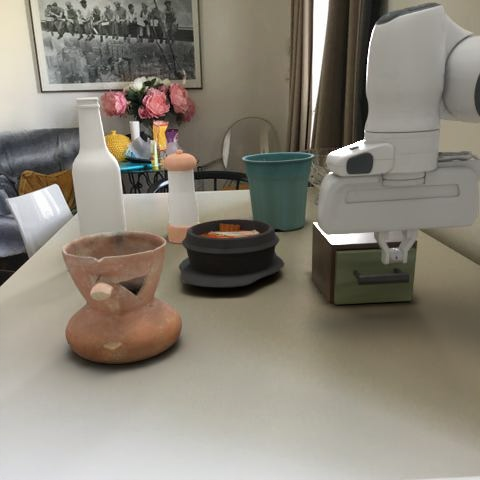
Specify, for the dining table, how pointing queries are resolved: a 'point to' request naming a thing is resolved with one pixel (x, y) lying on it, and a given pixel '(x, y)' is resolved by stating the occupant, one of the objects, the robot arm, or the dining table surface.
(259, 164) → the flower pot
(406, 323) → the dining table surface
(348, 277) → the drawer
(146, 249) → the ceramic jug
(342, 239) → the cabinet
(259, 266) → the casserole
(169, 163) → the salt shaker
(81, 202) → the alcohol
